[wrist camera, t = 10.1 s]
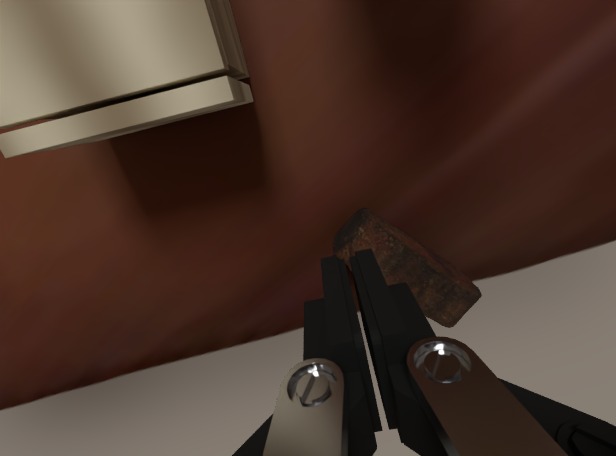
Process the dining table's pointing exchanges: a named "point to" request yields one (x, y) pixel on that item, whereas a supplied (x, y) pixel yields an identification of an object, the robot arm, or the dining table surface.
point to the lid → (106, 68)
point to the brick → (409, 266)
